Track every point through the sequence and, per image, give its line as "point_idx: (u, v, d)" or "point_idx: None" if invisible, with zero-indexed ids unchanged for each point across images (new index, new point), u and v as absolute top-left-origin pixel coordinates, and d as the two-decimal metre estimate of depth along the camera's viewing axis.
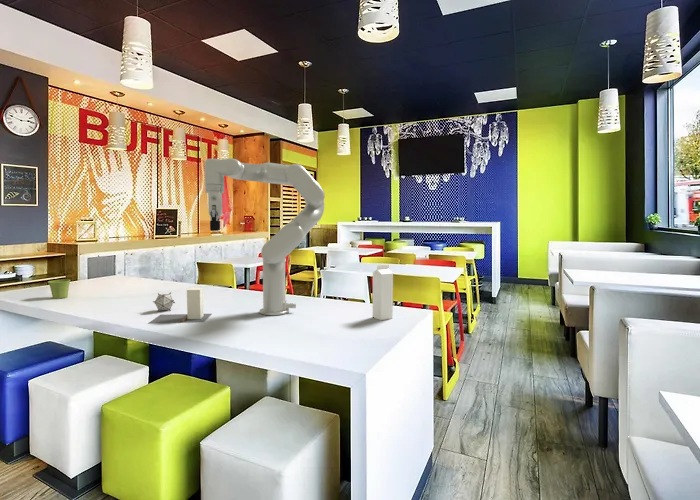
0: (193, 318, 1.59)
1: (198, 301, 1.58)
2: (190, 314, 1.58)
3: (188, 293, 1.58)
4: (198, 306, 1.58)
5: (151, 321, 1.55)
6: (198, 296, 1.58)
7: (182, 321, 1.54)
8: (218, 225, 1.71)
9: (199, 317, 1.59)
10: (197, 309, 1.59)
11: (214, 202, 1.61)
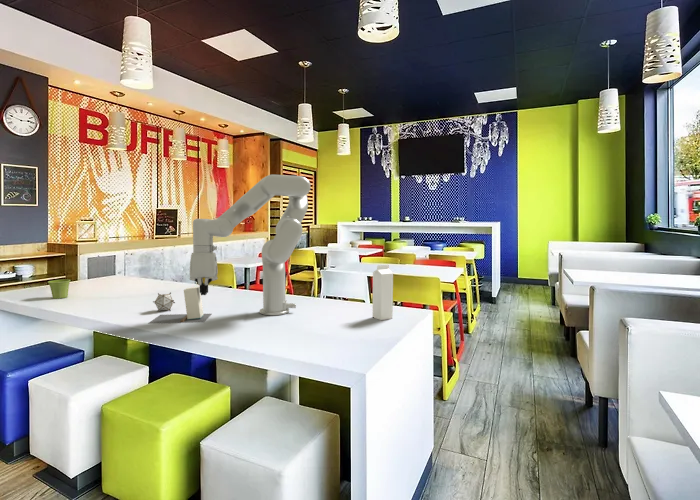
0: (193, 317, 1.59)
1: (196, 300, 1.58)
2: (189, 314, 1.58)
3: (185, 293, 1.57)
4: (197, 305, 1.58)
5: (151, 321, 1.55)
6: (196, 295, 1.58)
7: (182, 321, 1.54)
8: None
9: (199, 316, 1.59)
10: (196, 309, 1.58)
11: (216, 263, 1.61)
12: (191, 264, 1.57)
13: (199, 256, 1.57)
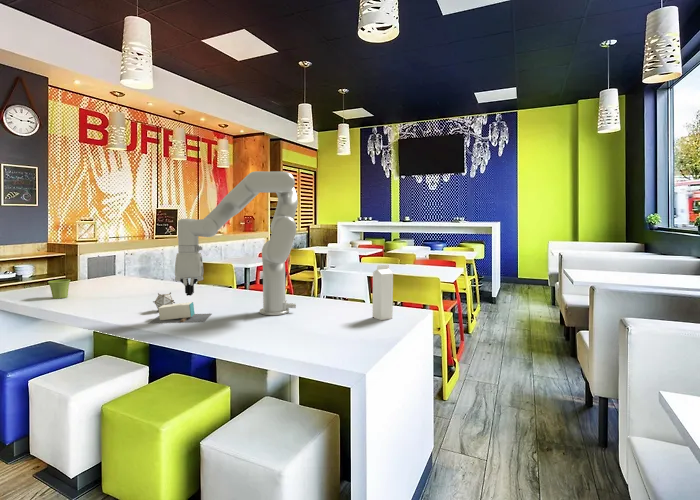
0: (189, 311, 1.58)
1: (171, 308, 1.57)
2: (185, 314, 1.58)
3: (163, 318, 1.57)
4: (176, 307, 1.57)
5: (151, 321, 1.55)
6: (165, 308, 1.57)
7: (182, 321, 1.54)
8: None
9: (187, 305, 1.58)
10: (180, 308, 1.58)
11: (201, 263, 1.60)
12: (176, 264, 1.57)
13: (185, 256, 1.56)
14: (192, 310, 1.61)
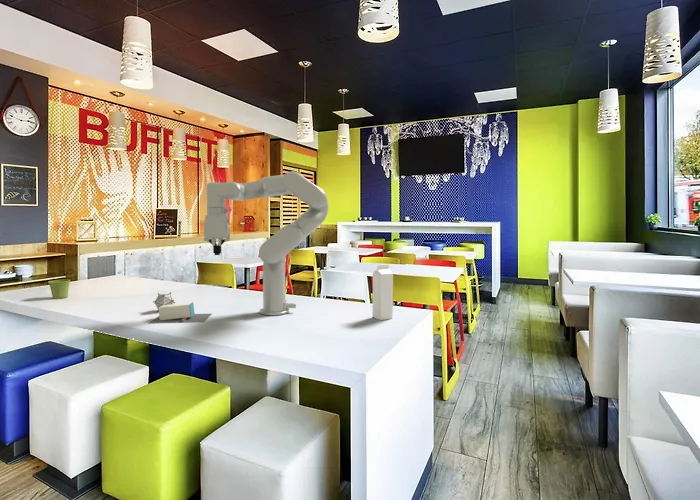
0: (189, 311, 1.58)
1: (171, 308, 1.57)
2: (185, 314, 1.58)
3: (163, 318, 1.57)
4: (176, 307, 1.57)
5: (151, 321, 1.55)
6: (165, 308, 1.57)
7: (182, 321, 1.54)
8: None
9: (187, 305, 1.58)
10: (180, 308, 1.58)
11: (228, 225, 1.70)
12: (205, 225, 1.66)
13: (213, 217, 1.66)
14: (192, 310, 1.61)
